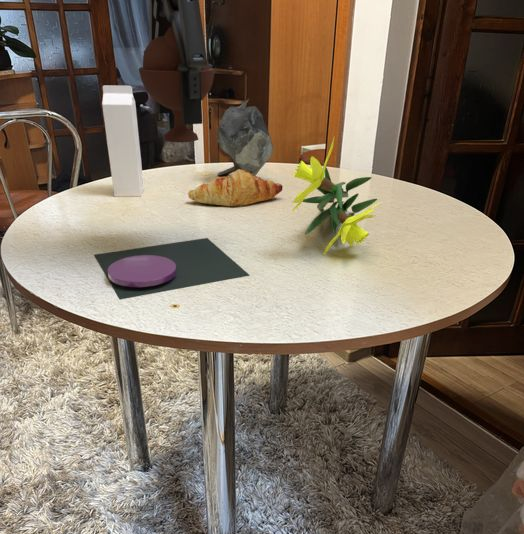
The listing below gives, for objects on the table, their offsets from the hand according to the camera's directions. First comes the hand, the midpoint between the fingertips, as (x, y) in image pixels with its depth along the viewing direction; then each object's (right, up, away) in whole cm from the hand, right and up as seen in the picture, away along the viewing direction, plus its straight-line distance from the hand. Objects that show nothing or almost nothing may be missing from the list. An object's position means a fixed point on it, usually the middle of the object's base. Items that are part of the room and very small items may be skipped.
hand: (179, 118), depth 77 cm
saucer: (-5, -24, 0) cm, 25 cm away
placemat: (-2, -22, +4) cm, 22 cm away
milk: (-18, +1, +40) cm, 44 cm away
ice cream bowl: (0, -3, +2) cm, 3 cm away
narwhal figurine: (+8, +7, +52) cm, 53 cm away
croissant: (+7, -2, +37) cm, 37 cm away
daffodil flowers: (+25, -13, +19) cm, 34 cm away
